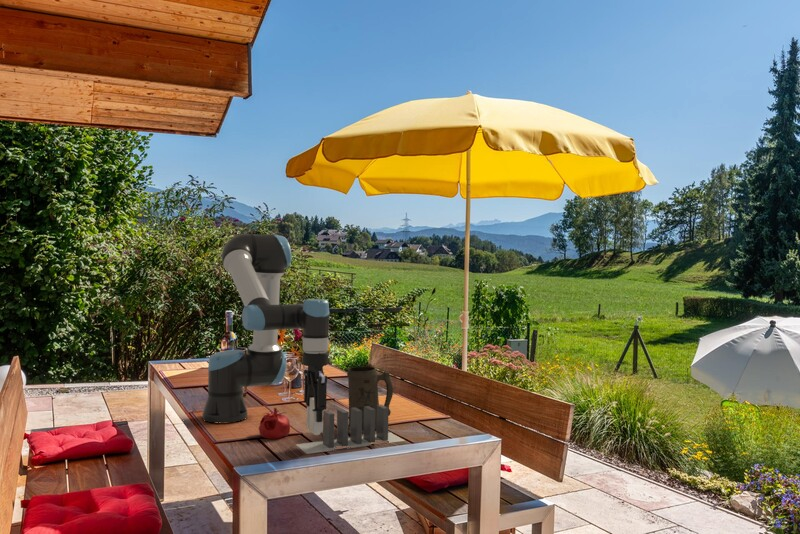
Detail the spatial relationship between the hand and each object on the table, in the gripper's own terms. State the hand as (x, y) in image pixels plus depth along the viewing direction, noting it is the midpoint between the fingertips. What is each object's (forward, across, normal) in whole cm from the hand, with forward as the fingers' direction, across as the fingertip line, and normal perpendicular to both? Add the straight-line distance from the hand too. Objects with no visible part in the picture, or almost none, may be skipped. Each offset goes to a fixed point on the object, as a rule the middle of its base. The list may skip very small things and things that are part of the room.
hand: (314, 430), depth 184 cm
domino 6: (+5, 0, -22) cm, 23 cm away
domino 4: (+5, 0, -14) cm, 14 cm away
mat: (+6, 0, -12) cm, 13 cm away
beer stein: (+6, +15, -25) cm, 30 cm away
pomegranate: (+6, +17, +7) cm, 19 cm away
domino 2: (+5, 0, -4) cm, 7 cm away
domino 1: (+1, 0, 0) cm, 1 cm away
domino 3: (+5, 0, -9) cm, 10 cm away
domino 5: (+5, 0, -18) cm, 19 cm away
